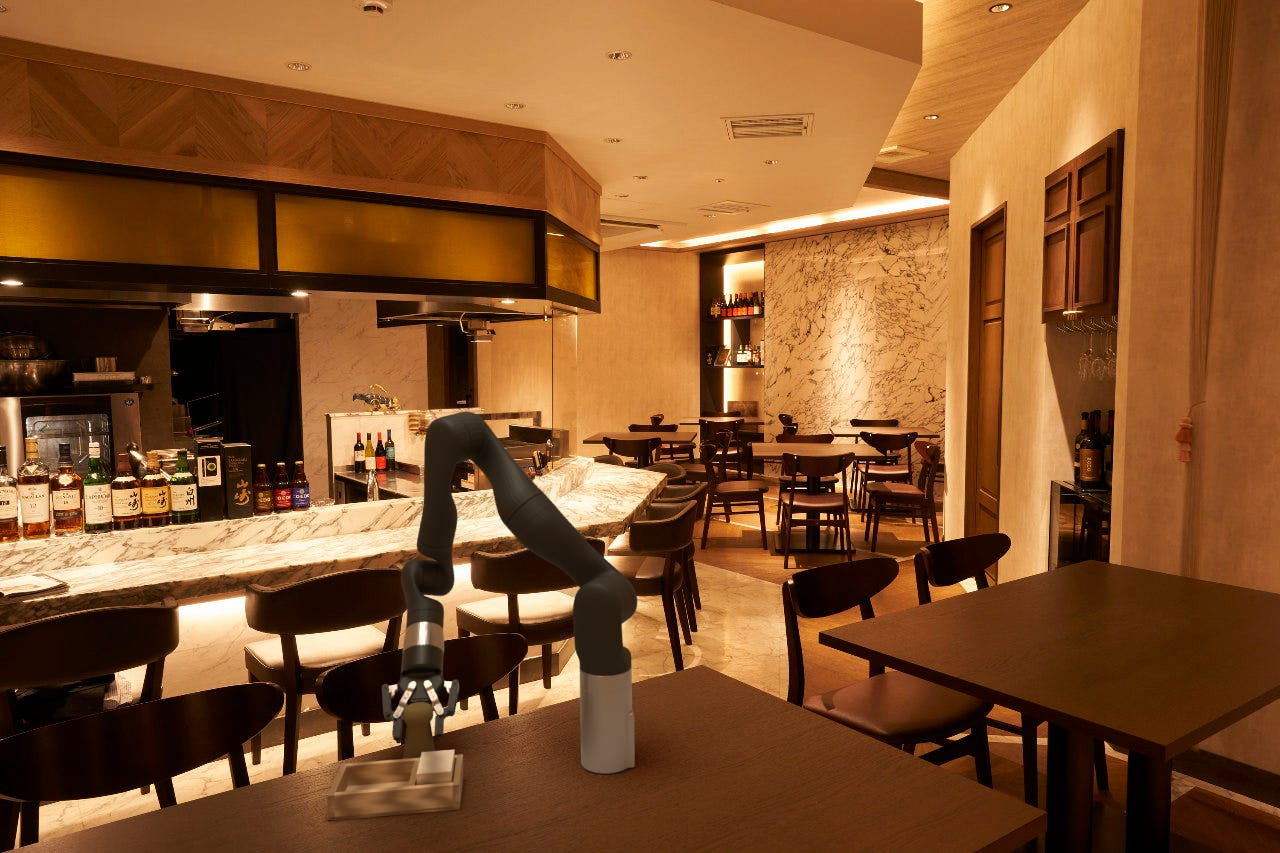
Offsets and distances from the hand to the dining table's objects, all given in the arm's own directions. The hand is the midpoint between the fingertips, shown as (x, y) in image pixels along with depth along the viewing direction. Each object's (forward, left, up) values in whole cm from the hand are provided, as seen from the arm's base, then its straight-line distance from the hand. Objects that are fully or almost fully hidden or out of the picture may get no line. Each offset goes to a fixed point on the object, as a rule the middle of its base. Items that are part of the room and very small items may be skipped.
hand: (417, 740), depth 144 cm
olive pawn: (0, -2, -5) cm, 6 cm away
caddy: (+2, +10, -5) cm, 11 cm away
